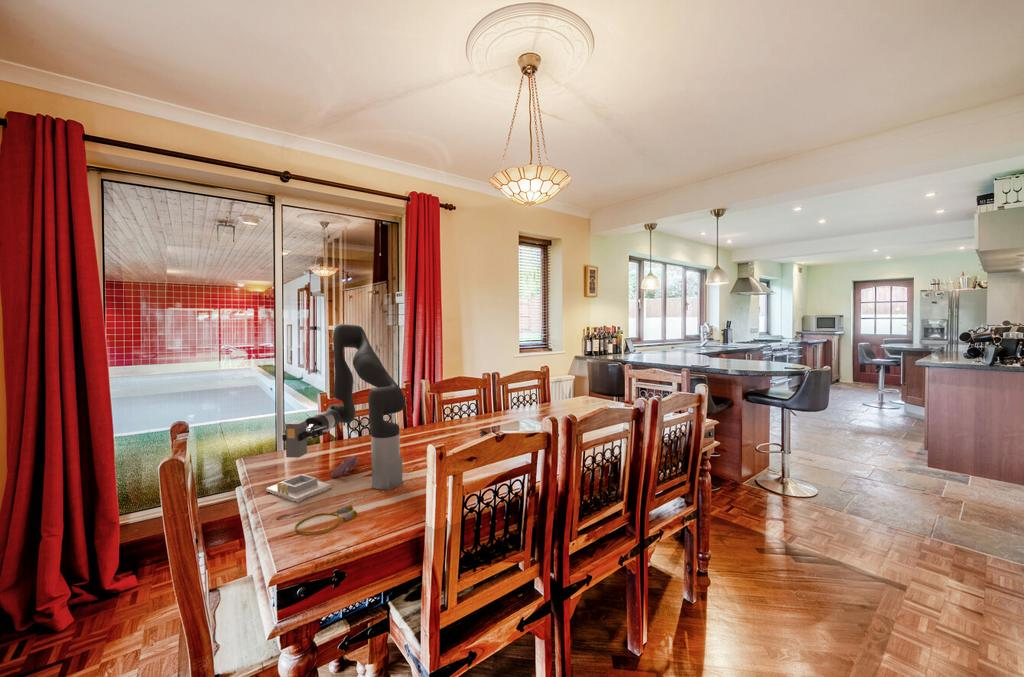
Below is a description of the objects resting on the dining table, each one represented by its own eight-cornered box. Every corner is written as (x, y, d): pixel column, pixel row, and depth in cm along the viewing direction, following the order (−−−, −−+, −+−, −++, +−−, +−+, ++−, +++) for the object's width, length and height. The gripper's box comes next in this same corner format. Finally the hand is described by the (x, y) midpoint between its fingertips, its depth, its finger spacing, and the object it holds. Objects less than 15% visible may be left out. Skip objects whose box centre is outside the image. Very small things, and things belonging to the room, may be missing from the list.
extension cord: (358, 528, 111) (358, 521, 111) (292, 541, 105) (292, 533, 105) (356, 508, 122) (356, 502, 122) (297, 519, 116) (296, 512, 116)
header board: (330, 487, 136) (330, 477, 136) (296, 502, 125) (296, 490, 125) (300, 478, 143) (300, 468, 143) (266, 491, 133) (265, 480, 133)
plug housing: (306, 453, 136) (306, 420, 136) (298, 458, 132) (297, 424, 131) (294, 452, 137) (293, 420, 136) (285, 457, 132) (283, 424, 131)
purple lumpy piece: (339, 482, 144) (347, 465, 143) (329, 476, 145) (336, 459, 144) (355, 472, 154) (362, 456, 153) (345, 466, 154) (352, 450, 154)
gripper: (300, 413, 149) (269, 426, 132) (338, 414, 148) (312, 426, 131) (300, 434, 149) (270, 449, 132) (338, 434, 148) (312, 449, 131)
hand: (291, 438), depth 131 cm, fingers closed on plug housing, 4 cm apart
